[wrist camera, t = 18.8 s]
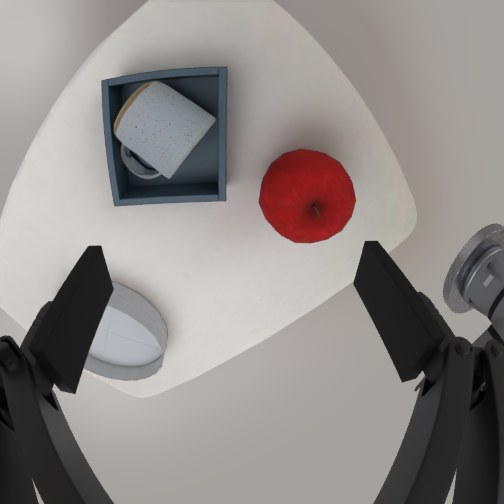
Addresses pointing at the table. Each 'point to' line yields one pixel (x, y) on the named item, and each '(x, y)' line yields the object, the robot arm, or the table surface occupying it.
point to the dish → (128, 338)
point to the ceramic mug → (159, 129)
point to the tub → (198, 160)
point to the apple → (307, 196)
